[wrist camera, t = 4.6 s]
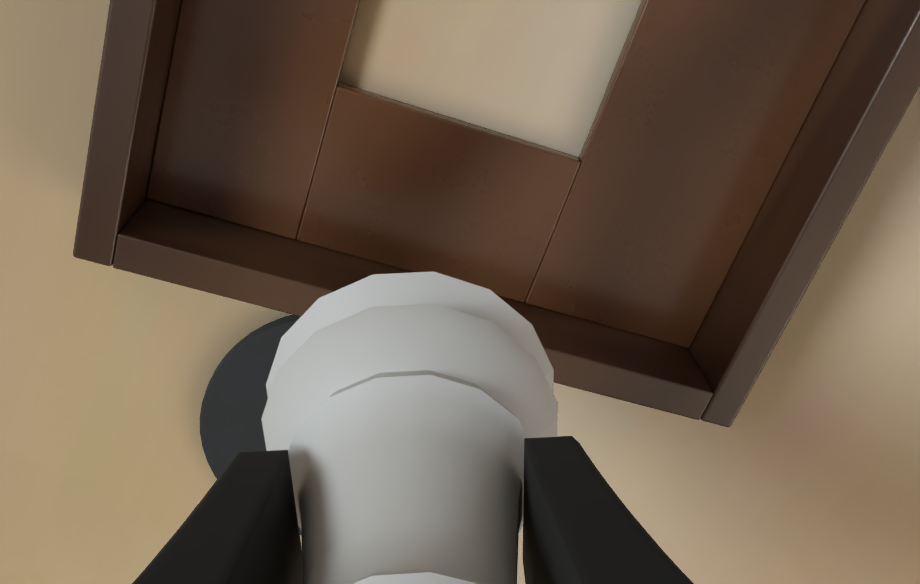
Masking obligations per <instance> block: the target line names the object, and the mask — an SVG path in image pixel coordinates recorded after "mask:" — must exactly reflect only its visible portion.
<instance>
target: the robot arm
mask: <svg viewBox="0 0 920 584" xmlns="http://www.w3.org/2000/svg"><path fill="white" fill-rule="evenodd" d="M523 565H524V574H525V582H526V584H693V583H692V581H691V580H690V579H689V578H688V577H687V576H686V575H685V574H684V573H683V572H682V571H681V570H680V569H679V568H678V567H677V566H676V565H675V563H674V562H673V561H672V560H671V559H670V558H669V557H668V556H667V555H666V554H665V553H664V551H663V550H662V549H661V548H660V547H659V546H658V544H657V543H656V542H655V541H654V540H653V539H652V537H651V536H650V535H649V534H648V533H647V532H646V530H645V529H644V528H643V527H642V526H641V525H640V523H639V522H638V521H637V520H636V519H635V518H634V516H633V515H632V514H631V513H630V511H629V510H628V509H627V508H626V506H625V505H624V504H623V503H622V501H621V500H620V499H619V497H618V496H617V495H616V494H615V492H614V491H613V490H612V488H611V487H610V486H609V484H608V483H607V482H606V480H605V479H604V478H603V476H602V475H601V474H600V472H599V471H598V470H597V468H596V467H595V465H594V464H593V463H592V461H591V460H590V458H589V457H588V455H587V454H586V452H585V451H584V449H583V448H582V446H581V445H580V443H579V442H577V441H576V440H575V439H574V438H573V437H572V436H562V437H542V438H524V503H523ZM132 584H303V569H302V549H301V542H300V534H299V527H298V520H297V513H296V505H295V498H294V491H293V484H292V476H291V469H290V462H289V455H288V450H274V451H253V452H240V453H239V454H238V455H237V456H236V457H235V458H234V459H233V460H232V461H231V462H230V464H229V465H228V466H227V467H226V469H225V470H224V471H223V473H222V474H221V475H220V477H219V478H218V479H217V481H216V482H215V483H214V485H213V486H212V487H211V489H210V490H209V491H208V492H207V494H206V495H205V496H204V498H203V499H202V500H201V502H200V503H199V504H198V505H197V507H196V508H195V509H194V510H193V512H192V513H191V514H190V515H189V517H188V518H187V519H186V521H185V522H184V523H183V524H182V526H181V527H180V528H179V529H178V530H177V532H176V533H175V534H174V535H173V536H172V538H171V539H170V540H169V541H168V542H167V544H166V545H165V546H164V547H163V548H162V550H161V551H160V552H159V553H158V554H157V556H156V557H155V558H154V559H153V560H152V562H151V563H150V564H149V565H148V566H147V567H146V569H145V570H144V571H143V572H142V573H141V574H140V575H139V577H138V578H137V579H136V580H135V581H134V582H133V583H132Z"/></svg>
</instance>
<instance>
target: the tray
mask: <svg viewBox="0 0 920 584" xmlns="http://www.w3.org/2000/svg"><path fill="white" fill-rule="evenodd" d="M359 2H360V0H110V5H109V12H108V19H107V26H106V32H105V39H104V46H103V53H102V60H101V66H100V73H99V80H98V87H97V94H96V100H95V107H94V114H93V121H92V128H91V134H90V141H89V148H88V155H87V162H86V168H85V175H84V182H83V189H82V196H81V202H80V209H79V216H78V223H77V230H76V236H75V243H74V250H73V255H74V257H76V258H80V259H84V260H88V261H92V262H95V263H99V264H103V265H107V266H111V265H112V264H113V267H114V268H117V269H121V270H124V271H128V272H132V273H136V274H140V275H144V276H147V277H151V278H155V279H159V280H163V281H167V282H171V283H174V284H178V285H182V286H186V287H190V288H194V289H197V290H201V291H205V292H209V293H213V294H217V295H220V296H224V297H228V298H232V299H236V300H240V301H244V302H247V303H251V304H255V305H259V306H263V307H267V308H270V309H274V310H278V311H282V312H286V313H290V314H293V315H297V316H302V315H303V314H304V313H305V312H306V311H307V310H308V309H309V308H310V307H311V306H312V305H313V304H314V303H315V302H316V300H317V299H318V298H320V297H322V296H325V295H327V294H329V293H332V292H334V291H336V290H338V289H341V288H343V287H345V286H348V285H350V284H352V283H354V282H357V281H359V280H361V279H364V278H366V277H368V276H370V275H373V274H392V273H413V272H433V271H434V272H437V273H440V274H443V275H446V276H449V277H453V278H456V279H459V280H462V281H465V282H468V283H471V284H474V285H478V286H481V287H484V288H487V289H490V290H491V291H493V292H494V293H495V294H496V295H497V296H499V297H500V298H501V299H502V300H503V301H505V302H506V303H507V304H508V305H509V306H511V307H512V308H513V309H514V310H515V311H517V312H518V313H519V314H520V315H521V316H523V317H524V318H525V319H526V320H527V321H528V322H530V323H531V324H532V325H533V327H534V329H535V332H536V334H537V336H538V338H539V340H540V342H541V344H542V346H543V348H544V350H545V353H546V355H547V357H548V359H549V361H550V363H551V365H552V367H553V369H554V380H553V382H555V383H558V384H562V385H566V386H570V387H574V388H578V389H582V390H585V391H589V392H593V393H597V394H601V395H605V396H608V397H612V398H616V399H620V400H624V401H628V402H631V403H635V404H639V405H643V406H647V407H651V408H654V409H658V410H662V411H666V412H670V413H674V414H678V415H681V416H685V417H689V418H693V419H697V420H699V419H701V420H703V421H706V422H710V423H714V424H718V425H721V426H725V427H730V426H731V425H732V423H733V421H734V419H735V417H736V416H737V414H738V412H739V410H740V408H741V407H742V405H743V403H744V401H745V399H746V398H747V396H748V394H749V392H750V390H751V389H752V387H753V385H754V383H755V381H756V380H757V378H758V376H759V374H760V372H761V371H762V369H763V367H764V365H765V363H766V361H767V360H768V358H769V356H770V354H771V352H772V351H773V349H774V347H775V345H776V343H777V342H778V340H779V338H780V336H781V334H782V333H783V331H784V329H785V327H786V325H787V324H788V322H789V320H790V318H791V316H792V315H793V313H794V311H795V309H796V307H797V306H798V304H799V302H800V300H801V298H802V297H803V295H804V293H805V291H806V289H807V288H808V286H809V284H810V282H811V280H812V279H813V277H814V275H815V273H816V271H817V270H818V268H819V266H820V264H821V262H822V261H823V259H824V257H825V255H826V253H827V252H828V250H829V248H830V246H831V244H832V243H833V241H834V239H835V237H836V235H837V234H838V232H839V230H840V228H841V226H842V225H843V223H844V221H845V219H846V217H847V216H848V214H849V212H850V210H851V208H852V207H853V205H854V203H855V201H856V199H857V198H858V196H859V194H860V192H861V190H862V189H863V187H864V185H865V183H866V181H867V180H868V178H869V176H870V174H871V172H872V171H873V169H874V167H875V165H876V163H877V162H878V160H879V158H880V156H881V154H882V153H883V151H884V149H885V147H886V145H887V144H888V142H889V140H890V138H891V136H892V134H893V133H894V131H895V129H896V127H897V125H898V124H899V122H900V120H901V118H902V116H903V115H904V113H905V111H906V109H907V107H908V106H909V104H910V102H911V100H912V98H913V97H914V95H915V93H916V91H917V89H918V88H919V86H920V0H642V2H641V4H640V7H639V9H638V12H637V14H636V17H635V19H634V22H633V24H632V27H631V29H630V32H629V34H628V37H627V39H626V42H625V44H624V47H623V49H622V52H621V54H620V57H619V59H618V62H617V64H616V67H615V69H614V72H613V74H612V77H611V79H610V82H609V84H608V87H607V89H606V92H605V94H604V97H603V99H602V102H601V104H600V107H599V109H598V112H597V114H596V117H595V119H594V122H593V124H592V127H591V129H590V132H589V134H588V137H587V139H586V142H585V144H584V147H583V149H582V152H581V154H580V157H579V158H578V157H576V156H572V155H569V154H566V153H563V152H560V151H556V150H553V149H550V148H547V147H544V146H540V145H537V144H534V143H531V142H527V141H524V140H521V139H518V138H515V137H511V136H508V135H505V134H502V133H499V132H495V131H492V130H489V129H486V128H483V127H479V126H476V125H473V124H470V123H467V122H463V121H460V120H457V119H454V118H451V117H447V116H444V115H441V114H438V113H435V112H431V111H428V110H425V109H422V108H418V107H415V106H412V105H409V104H406V103H402V102H399V101H396V100H393V99H390V98H386V97H383V96H380V95H377V94H374V93H370V92H367V91H364V90H361V89H358V88H354V87H351V86H348V85H345V84H342V83H339V84H338V81H339V78H340V74H341V70H342V66H343V62H344V59H345V55H346V51H347V47H348V44H349V40H350V36H351V32H352V29H353V25H354V21H355V17H356V14H357V10H358V6H359Z"/></svg>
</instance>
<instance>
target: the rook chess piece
mask: <svg viewBox="0 0 920 584" xmlns="http://www.w3.org/2000/svg"><path fill="white" fill-rule="evenodd" d="M553 380H554V369H553V367H552V365H551V363H550V361H549V359H548V357H547V355H546V353H545V350H544V348H543V346H542V344H541V342H540V340H539V338H538V336H537V334H536V332H535V329H534V327H533V325H532V324H531V323H530V322H528V321H527V320H526V319H525V318H524V317H523V316H521V315H520V314H519V313H518V312H517V311H515V310H514V309H513V308H512V307H511V306H509V305H508V304H507V303H506V302H505V301H503V300H502V299H501V298H500V297H499V296H497V295H496V294H495V293H494V292H493V291H491V290H490V289H487V288H484V287H481V286H478V285H474V284H471V283H468V282H465V281H462V280H459V279H456V278H453V277H449V276H446V275H443V274H440V273H437V272H434V271H433V272H413V273H392V274H373V275H370V276H368V277H366V278H364V279H361V280H359V281H357V282H354V283H352V284H350V285H348V286H345V287H343V288H341V289H338V290H336V291H334V292H332V293H329V294H327V295H325V296H322V297H320V298H318V299H317V300H316V302H315V303H314V304H313V305H312V306H311V307H310V308H309V309H308V310H307V311H306V312H305V313H304V314H303V315H302V316H301V317H300V318H299V319H298V320H297V321H296V323H295V324H294V325H293V326H292V327H291V328H290V329H289V330H288V331H287V332H286V333H285V334H284V335H283V336H282V337H281V340H280V343H279V346H278V349H277V352H276V355H275V358H274V361H273V364H272V367H271V371H270V374H269V377H268V380H267V383H266V389H267V395H268V400H267V403H266V406H265V409H264V412H263V415H262V418H261V420H262V426H263V432H264V438H265V444H266V450H267V451H274V450H288V455H289V462H290V469H291V476H292V484H293V491H294V498H295V505H296V513H297V520H298V526H299V528H300V529H301V530H302V569H303V584H517V560H518V533H519V531H520V530H521V528H522V526H523V503H524V438H542V437H557V409H558V402H557V400H556V398H555V396H554V394H553Z"/></svg>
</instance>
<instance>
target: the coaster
mask: <svg viewBox="0 0 920 584" xmlns="http://www.w3.org/2000/svg"><path fill="white" fill-rule="evenodd" d="M300 317H301V316H297V315H290V316H286V317H283V318H280V319H278V320H276V321H273V322H271V323H268V324H266V325H264V326H262V327H261V328H259V329H257V330H255V331H254V332H252V333H250V334H249V335H248V336H246V337H245V338H244V339H243V340H241V341H240V342H239V343H237V344H236V345H235V346H234V347H233V348H232V349H231V350H230V351H229V352H228V354H227V355H226V356H225V357H224V358H223V360H222V361H221V363H220V364H219V365H218V367H217V368H216V370H215V372H214V374H213V376H212V378H211V380H210V382H209V384H208V387H207V390H206V393H205V396H204V399H203V402H202V407H201V414H200V434H201V440H202V446H203V449H204V452H205V455H206V458H207V461H208V463H209V465H210V467H211V469H212V471H213V473H214V475H215V477H216V478H217V479H218V478H219V477H220V475H221V474H222V473H223V471H224V470H225V469H226V467H227V466H228V465H229V464H230V462H231V461H232V460H233V459H234V458H235V457H236V456H237V455H238V454H239V453H240V452H253V451H267V450H266V444H265V438H264V432H263V426H262V420H261V418H262V415H263V412H264V409H265V406H266V403H267V400H268V395H267V389H266V383H267V380H268V377H269V374H270V371H271V367H272V364H273V361H274V358H275V355H276V352H277V349H278V346H279V343H280V340H281V337H282V336H283V335H284V334H285V333H286V332H287V331H288V330H289V329H290V328H291V327H292V326H293V325H294V324H295V323H296V321H297V320H298V319H299V318H300ZM298 527H299V526H298ZM299 534H300V535H302V530H301V529H300V528H299Z"/></svg>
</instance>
